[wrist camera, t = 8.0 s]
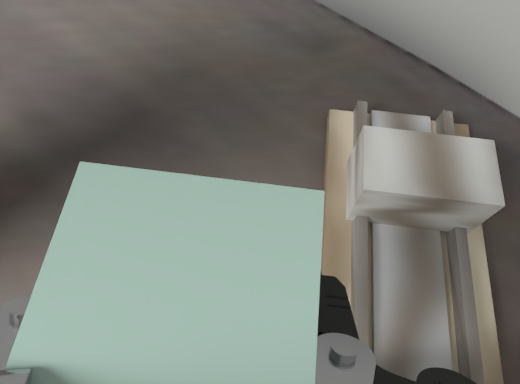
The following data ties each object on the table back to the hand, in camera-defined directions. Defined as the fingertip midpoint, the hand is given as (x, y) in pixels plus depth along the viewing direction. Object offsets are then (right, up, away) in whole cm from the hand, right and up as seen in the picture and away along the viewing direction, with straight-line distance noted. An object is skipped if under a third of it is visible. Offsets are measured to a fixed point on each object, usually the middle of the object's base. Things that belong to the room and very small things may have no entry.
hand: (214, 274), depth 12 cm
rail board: (+12, -6, +18) cm, 22 cm away
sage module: (0, -4, +3) cm, 5 cm away
